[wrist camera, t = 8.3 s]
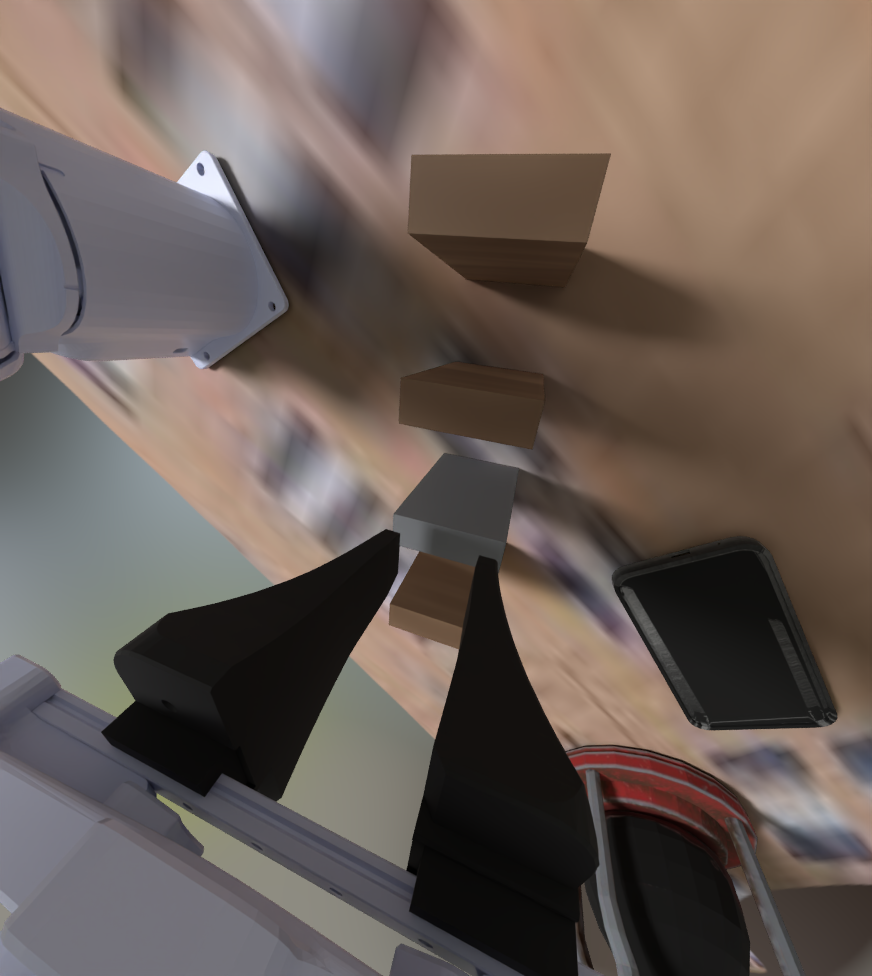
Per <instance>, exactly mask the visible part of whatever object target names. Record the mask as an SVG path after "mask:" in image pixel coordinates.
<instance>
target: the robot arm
mask: <svg viewBox="0 0 872 976" xmlns="http://www.w3.org/2000/svg"><path fill="white" fill-rule="evenodd" d="M204 169H205V173H204ZM273 304H275V306H276V309H275V310H274V308H273ZM288 307H289V304H288V300H287V297H286V295H285V293H284V291H283V289H282V287H281V286H280V284H279V282H278V280H277V278H276V276H275V274H274V272H273V270H272V268H271V266H270V264H269V262H268V260H267V258H266V256H265V254H264V252H263V250H262V248H261V246H260V244H259V242H258V240H257V238H256V236H255V234H254V232H253V230H252V228H251V226H250V224H249V222H248V220H247V218H246V216H245V214H244V212H243V210H242V208H241V206H240V204H239V202H238V200H237V198H236V196H235V194H234V192H233V190H232V188H231V186H230V184H229V182H228V180H227V178H226V176H225V174H224V172H223V170H222V168H221V166H220V164H219V162H218V160H217V158H216V157H215V156H214V155H213V154H212V153H210V152H208V151H205V150H203V151H202V152H201V153H200V154H199V155H198V156H197V158H196V159H195V160H194V162H193V163H192V164H191V165H190V167H189V168H188V169H187V170H186V172H185V173H184V174H183V175H182V177H181V178H180V179H179V181H178V182H177V183H176V182H174V181H172V180H169V179H167V178H165V177H162V176H160V175H157V174H155V173H153V172H150V171H148V170H146V169H143V168H141V167H139V166H136V165H134V164H132V163H129V162H127V161H124V160H122V159H120V158H117V157H115V156H113V155H110V154H108V153H106V152H103V151H101V150H99V149H96V148H94V147H91V146H89V145H87V144H84V143H82V142H80V141H77V140H75V139H73V138H70V137H68V136H66V135H63V134H61V133H58V132H56V131H54V130H51V129H49V128H47V127H44V126H42V125H40V124H37V123H35V122H33V121H30V120H28V119H25V118H23V117H21V116H18V115H16V114H14V113H11V112H9V111H7V110H4V109H2V108H0V381H1V380H3V379H6V378H8V377H10V376H12V375H13V374H14V373H15V372H16V371H18V370H19V369H20V367H21V365H22V364H23V359H24V353H43V352H51V353H54V354H58V355H61V356H64V357H68V358H73V359H78V360H84V361H111V360H129V359H148V358H166V357H184V356H190V357H191V358H192V360H193V361H194V363H195V365H196V366H197V367H198V368H200V369H207V368H209V367H210V366H211V365H213V364H214V363H215V362H217V361H218V360H220V359H221V358H222V357H224V356H225V355H227V354H228V353H229V352H231V351H232V350H233V349H235V348H236V347H238V346H239V345H240V344H242V343H243V342H245V341H246V340H247V339H249V338H250V337H251V336H253V335H254V334H256V333H257V332H258V331H260V330H261V329H263V328H264V327H265V326H267V325H268V324H269V323H271V322H272V321H274V320H275V319H276V318H278V317H279V316H281V315H282V314H283V313H285V312H286V311H287V310H288ZM209 356H210V357H209ZM399 546H400V533H398V532H394V531H391V530H387V529H385V530H384V531H382V532H380V533H379V534H377V535H375V536H373V537H372V538H370V539H369V540H367V541H365V542H364V543H362V544H360V545H359V546H357V547H355V548H353V549H352V550H350V551H348V552H346V553H345V554H343V555H341V556H339V557H337V558H336V559H334V560H332V561H330V562H328V563H326V564H324V565H322V566H320V567H318V568H316V569H314V570H312V571H310V572H307V573H305V574H303V575H300V576H298V577H296V578H293V579H291V580H288V581H286V582H283V583H280V584H277V585H274V586H272V587H269V588H266V589H263V590H260V591H258V592H254V593H251V594H247V595H244V596H241V597H237V598H234V599H230V600H226V601H222V602H219V603H215V604H210V605H206V606H202V607H197V608H193V609H188V610H183V611H178V612H174V613H168V614H167V615H165V616H164V617H163V618H161V619H160V620H159V621H157V622H156V623H155V624H153V625H152V626H150V627H149V628H148V629H146V630H145V631H144V632H142V633H141V634H140V635H138V636H137V637H136V638H134V639H133V640H132V641H130V642H129V643H128V644H126V645H125V646H123V647H122V648H121V649H119V650H118V651H117V652H116V654H115V657H114V665H115V668H116V670H117V672H118V674H119V675H120V677H121V678H122V680H123V682H124V683H125V684H126V686H127V688H128V689H129V691H130V693H131V694H132V696H133V697H134V699H135V700H136V701H135V702H134V703H133V704H132V705H130V706H129V707H128V708H127V709H126V710H125V711H124V712H123V713H122V714H121V715H119V716H118V717H115V716H113V715H111V714H109V713H107V712H105V711H103V710H101V709H100V708H98V707H95V706H94V705H92V704H90V703H88V702H86V701H84V700H83V699H80V698H79V697H77V696H75V695H73V694H71V693H69V692H67V691H65V690H64V689H62V688H61V685H60V683H59V682H58V680H57V679H56V678H55V677H54V676H53V675H52V674H51V673H50V672H49V671H48V670H46V669H45V668H43V667H42V666H40V665H38V664H36V663H34V662H32V661H30V660H28V659H26V658H24V657H22V656H21V655H12V656H11V657H9V658H7V659H6V660H4V661H2V662H1V663H0V903H1V904H2V905H3V906H5V908H6V909H8V910H9V911H10V912H11V913H12V914H11V916H9V918H8V919H7V920H6V921H5V923H4V926H3V929H2V931H1V932H0V976H382V975H381V974H379V973H378V972H376V971H375V970H373V969H372V968H370V967H369V966H367V965H366V964H365V963H363V962H362V961H360V960H359V959H357V958H356V957H354V956H353V955H351V954H350V953H348V952H347V951H345V950H344V949H342V948H341V947H340V946H338V945H337V944H335V943H334V942H332V941H331V940H329V939H328V938H326V937H325V936H323V935H322V934H320V933H319V932H318V931H316V930H315V929H313V928H312V927H310V926H309V925H307V924H305V923H304V922H303V921H301V920H300V919H298V918H297V917H295V916H294V915H292V914H291V913H289V912H288V911H286V910H285V909H283V908H281V907H280V906H279V905H277V904H275V903H274V902H273V901H271V900H269V899H268V898H266V897H264V896H263V895H262V894H260V893H259V892H257V891H255V890H254V889H252V888H251V887H249V886H247V885H246V884H244V883H243V882H241V881H240V880H238V879H237V878H235V877H233V876H232V875H230V874H228V873H227V872H225V871H223V870H222V869H220V868H219V867H217V866H215V865H214V864H212V863H210V862H209V861H207V860H205V859H204V858H202V857H201V855H202V854H203V851H204V846H203V845H202V844H201V843H200V842H198V840H197V839H196V838H194V836H193V835H192V834H191V833H190V832H189V831H188V830H187V829H186V827H185V826H184V824H183V823H182V821H181V818H180V816H179V815H178V814H177V813H176V812H174V811H173V810H172V809H170V808H169V807H168V806H166V805H165V804H164V803H162V802H161V801H160V800H158V799H157V798H156V794H157V793H158V794H159V795H161V796H163V797H165V798H166V799H168V800H170V801H172V802H173V803H175V804H177V805H178V806H180V807H182V808H184V809H186V810H187V811H189V812H191V813H192V814H194V815H196V816H197V817H199V818H201V819H203V820H204V821H206V822H208V823H210V824H211V825H213V826H215V827H217V828H219V829H220V830H222V831H223V832H225V833H227V834H229V835H230V836H232V837H234V838H236V839H237V840H239V841H241V842H242V843H244V844H246V845H248V846H249V847H251V848H253V849H255V850H256V851H258V852H260V853H261V854H263V855H265V856H267V857H268V858H270V859H272V860H273V861H275V862H277V863H279V864H281V865H282V866H284V867H286V868H287V869H289V870H291V871H293V872H294V873H296V874H298V875H299V876H301V877H303V878H305V879H306V880H308V881H310V882H312V883H313V884H315V885H317V886H318V887H320V888H322V889H324V890H326V891H327V892H329V893H330V894H332V895H334V896H336V897H337V898H339V899H341V900H343V901H344V902H346V903H348V904H349V905H351V906H353V907H355V908H356V909H358V910H360V911H362V912H364V913H365V914H367V915H369V916H370V917H372V918H374V919H375V920H377V921H379V922H381V923H382V924H384V925H386V926H387V927H389V928H391V929H393V930H394V931H396V932H398V933H400V934H401V935H403V936H405V937H407V938H408V939H410V940H412V941H413V942H415V943H417V944H419V945H420V946H422V947H424V948H426V949H427V950H429V951H431V952H432V953H434V954H436V955H438V956H439V957H441V958H443V959H444V960H446V961H448V962H450V963H451V964H450V963H448V962H445V961H443V960H441V959H438V958H436V957H433V956H431V955H428V954H426V953H423V952H421V951H419V950H416V949H414V948H411V947H409V946H406V945H404V944H400V945H399V946H398V947H396V950H395V954H394V958H393V962H392V966H391V971H390V975H389V976H469V975H468V974H467V973H469V974H470V975H472V976H604V975H602V974H601V973H599V972H597V971H595V970H593V969H591V968H589V967H587V966H585V965H584V964H582V963H580V962H578V960H577V943H576V926H575V922H576V923H577V922H579V918H580V908H579V893H578V887H579V886H580V885H582V884H583V883H584V882H585V881H586V880H587V879H589V878H590V877H591V876H592V875H593V874H594V873H595V872H596V870H597V868H598V867H599V865H600V863H599V851H598V842H597V837H596V831H595V826H594V821H593V817H592V812H591V808H590V804H589V800H588V796H587V792H586V789H585V785H584V783H583V781H582V779H581V777H580V776H579V774H578V772H577V771H576V769H575V767H574V766H573V764H572V762H571V761H570V759H569V757H568V755H567V754H566V752H565V750H564V748H563V747H562V745H561V743H560V741H559V739H558V738H557V736H556V734H555V732H554V730H553V728H552V726H551V724H550V723H549V721H548V719H547V717H546V715H545V713H544V711H543V709H542V707H541V705H540V703H539V700H538V698H537V696H536V694H535V692H534V690H533V688H532V686H531V684H530V681H529V679H528V677H527V675H526V672H525V670H524V667H523V665H522V662H521V660H520V657H519V655H518V652H517V649H516V647H515V644H514V641H513V638H512V635H511V631H510V628H509V625H508V621H507V618H506V614H505V610H504V606H503V601H502V597H501V592H500V586H499V578H498V562H497V561H496V560H495V559H492V558H488V557H484V556H481V555H479V557H478V560H477V563H476V566H475V570H474V575H473V580H472V584H471V589H470V594H469V598H468V603H467V608H466V612H465V617H464V622H463V628H462V634H461V640H460V646H459V652H458V658H457V662H456V666H455V670H454V674H453V677H452V681H451V685H450V688H449V692H448V696H447V699H446V703H445V706H444V710H443V714H442V717H441V721H440V724H439V728H438V732H437V735H436V739H435V742H434V746H433V751H432V756H431V761H430V765H429V770H428V776H427V780H426V785H425V790H424V795H423V799H422V803H421V807H420V811H419V814H418V818H417V822H416V826H415V830H414V834H413V838H412V840H413V841H412V846H411V851H410V856H409V861H408V866H407V870H404V869H402V868H400V867H398V866H396V865H394V864H393V863H391V862H389V861H387V860H385V859H383V858H381V857H379V856H377V855H376V854H374V853H372V852H370V851H368V850H366V849H364V848H362V847H360V846H359V845H357V844H355V843H353V842H351V841H349V840H347V839H345V838H343V837H341V836H340V835H338V834H336V833H334V832H332V831H330V830H328V829H326V828H325V827H322V826H321V825H319V824H317V823H315V822H313V821H311V820H309V819H308V818H306V817H304V816H302V815H300V814H298V813H296V812H294V811H292V810H291V809H289V808H287V807H285V806H283V805H281V804H279V803H277V802H276V801H277V800H279V799H280V798H282V795H283V793H284V791H285V788H286V786H287V783H288V782H289V779H290V777H291V775H292V773H293V770H294V768H295V766H296V764H297V761H298V759H299V757H300V755H301V753H302V750H303V748H304V746H305V744H306V742H307V740H308V738H309V735H310V733H311V731H312V729H313V727H314V725H315V723H316V721H317V719H318V716H319V714H320V712H321V710H322V708H323V706H324V704H325V702H326V700H327V698H328V696H329V694H330V692H331V690H332V688H333V686H334V684H335V682H336V680H337V678H338V676H339V674H340V672H341V670H342V668H343V666H344V664H345V663H346V661H347V659H348V657H349V655H350V653H351V652H352V650H353V648H354V647H355V645H356V643H357V642H358V640H359V639H360V637H361V636H362V634H363V633H364V631H365V629H366V628H367V626H368V625H369V623H370V622H371V620H372V619H373V617H374V616H375V614H376V612H377V611H378V609H379V608H380V606H381V605H382V603H383V601H384V600H385V598H386V597H387V595H388V593H389V591H390V589H391V587H392V585H393V582H394V580H395V578H396V576H397V574H398V563H399ZM452 964H453V965H452ZM454 965H455V966H457V967H458V968H457V967H455V966H454ZM459 968H460V969H462V970H463V971H462V970H460V969H459ZM464 971H465V972H467V973H465V972H464Z"/></svg>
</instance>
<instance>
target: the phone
mask: <svg viewBox="0 0 872 976" xmlns="http://www.w3.org/2000/svg"><path fill="white" fill-rule="evenodd" d="M718 543H720V544H719V545H718ZM687 552H690V554H686V555H682V556H678V557H675V558H671V557H672V556H675V555H679V554H683V553H687ZM612 583H613V586H614V589H615V592H616V594H617V596H618V597H619V599H620V601H621V603H622V604H623V606H624V608H625V610H626V612H627V613H628V615H629V617H630V619H631V620H632V622H633V624H634V626H635V627H636V629H637V631H638V633H639V634H640V636H641V638H642V640H643V641H644V643H645V645H646V647H647V649H648V650H649V652H650V654H651V656H652V657H653V659H654V661H655V663H656V664H657V666H658V668H659V670H660V671H661V673H662V675H663V677H664V678H665V680H666V682H667V684H668V686H669V687H670V689H671V691H672V693H673V694H674V696H675V698H676V700H677V701H678V703H679V705H680V707H681V708H682V710H683V712H684V714H685V716H686V717H687V719H688V721H689V722H690V723H691V724H692V725H694V726H695V727H698V728H700V729H705V730H743V729H779V728H816V727H825V726H828V725H831V724H833V723H834V722H835V721H836V720H837V713H836V710H835V708H834V706H833V703H832V701H831V698H830V696H829V693H828V691H827V688H826V686H825V684H824V681H823V679H822V676H821V674H820V671H819V669H818V666H817V664H816V662H815V659H814V657H813V654H812V652H811V649H810V647H809V644H808V642H807V640H806V637H805V635H804V632H803V630H802V627H801V625H800V622H799V620H798V618H797V615H796V613H795V610H794V608H793V605H792V603H791V600H790V598H789V596H788V593H787V591H786V588H785V586H784V583H783V581H782V578H781V576H780V574H779V571H778V569H777V566H776V564H775V561H774V559H773V556H772V555H771V553H770V552H769V551H768V550H767V549H766V548H765V547H764V546H763V545H762V544H761V543H760V542H758V541H757V540H755V539H753V538H749V537H743V536H737V537H730V538H726V539H723V540H719V541H715V542H711V543H708V544H704V545H700V546H696V547H693V548H689V549H685V550H681V551H678V552H674V553H670V554H666V555H663V556H659V557H655V558H652V559H648V560H644V561H640V562H637V563H633V564H629V565H625V566H623V567H620V568H618V569H617V570H616V571H615V572H614V573H613V575H612Z"/></svg>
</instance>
